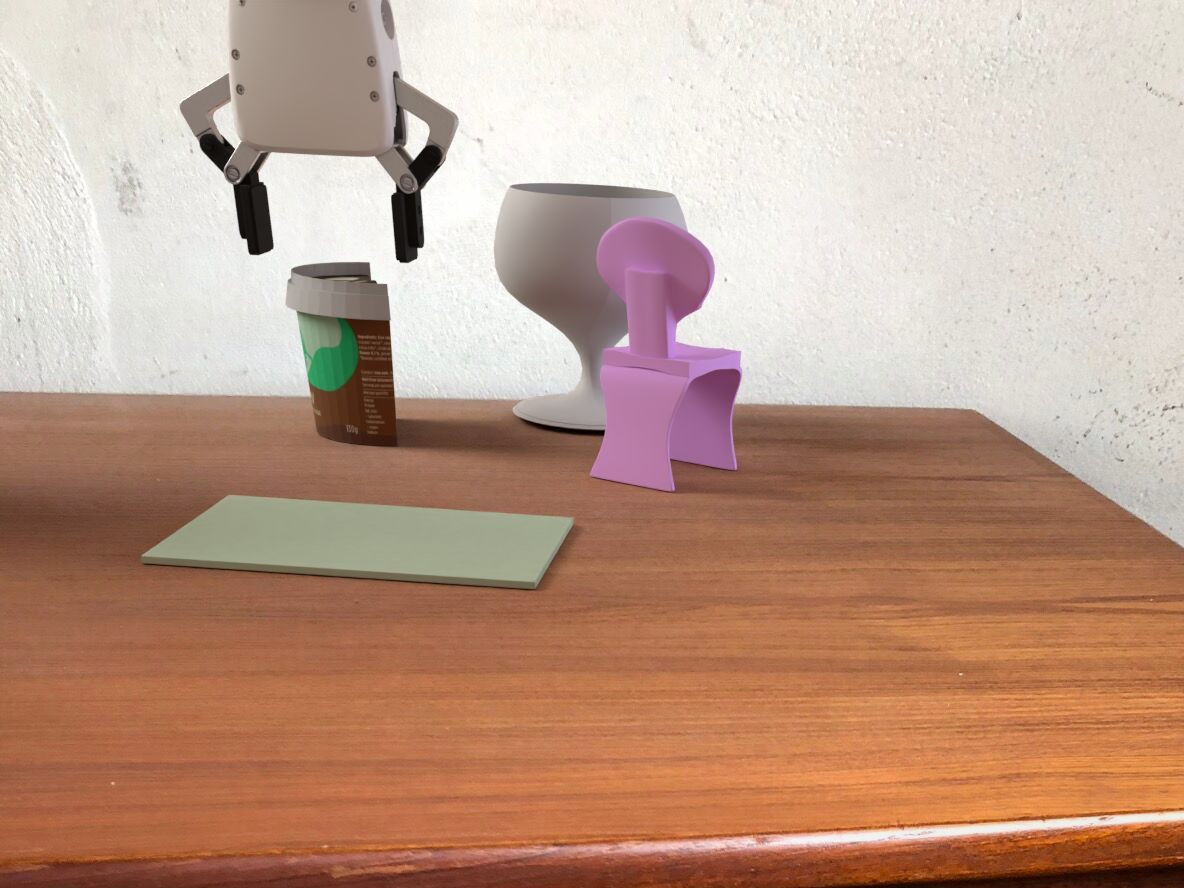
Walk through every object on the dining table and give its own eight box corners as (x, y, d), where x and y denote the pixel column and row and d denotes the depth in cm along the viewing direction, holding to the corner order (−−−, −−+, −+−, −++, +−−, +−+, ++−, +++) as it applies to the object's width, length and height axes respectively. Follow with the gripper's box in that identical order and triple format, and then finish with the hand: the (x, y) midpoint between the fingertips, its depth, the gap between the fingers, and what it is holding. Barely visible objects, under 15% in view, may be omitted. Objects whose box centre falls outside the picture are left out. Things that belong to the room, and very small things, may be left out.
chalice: (703, 439, 109) (710, 203, 101) (508, 437, 106) (499, 194, 97) (670, 401, 120) (673, 186, 112) (492, 398, 117) (483, 178, 109)
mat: (141, 563, 76) (140, 555, 76) (229, 501, 87) (228, 494, 87) (535, 589, 76) (535, 581, 76) (573, 524, 87) (573, 517, 87)
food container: (293, 413, 108) (276, 258, 103) (381, 413, 110) (368, 261, 105) (304, 451, 99) (286, 283, 93) (400, 450, 100) (388, 284, 95)
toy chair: (754, 471, 101) (766, 219, 93) (685, 494, 94) (692, 225, 86) (649, 451, 104) (652, 206, 96) (576, 473, 97) (573, 212, 89)
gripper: (459, -54, 92) (477, 257, 102) (180, -67, 93) (223, 244, 102) (431, -61, 86) (453, 270, 96) (132, -76, 86) (182, 256, 96)
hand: (334, 256), depth 99 cm, fingers open, 9 cm apart
